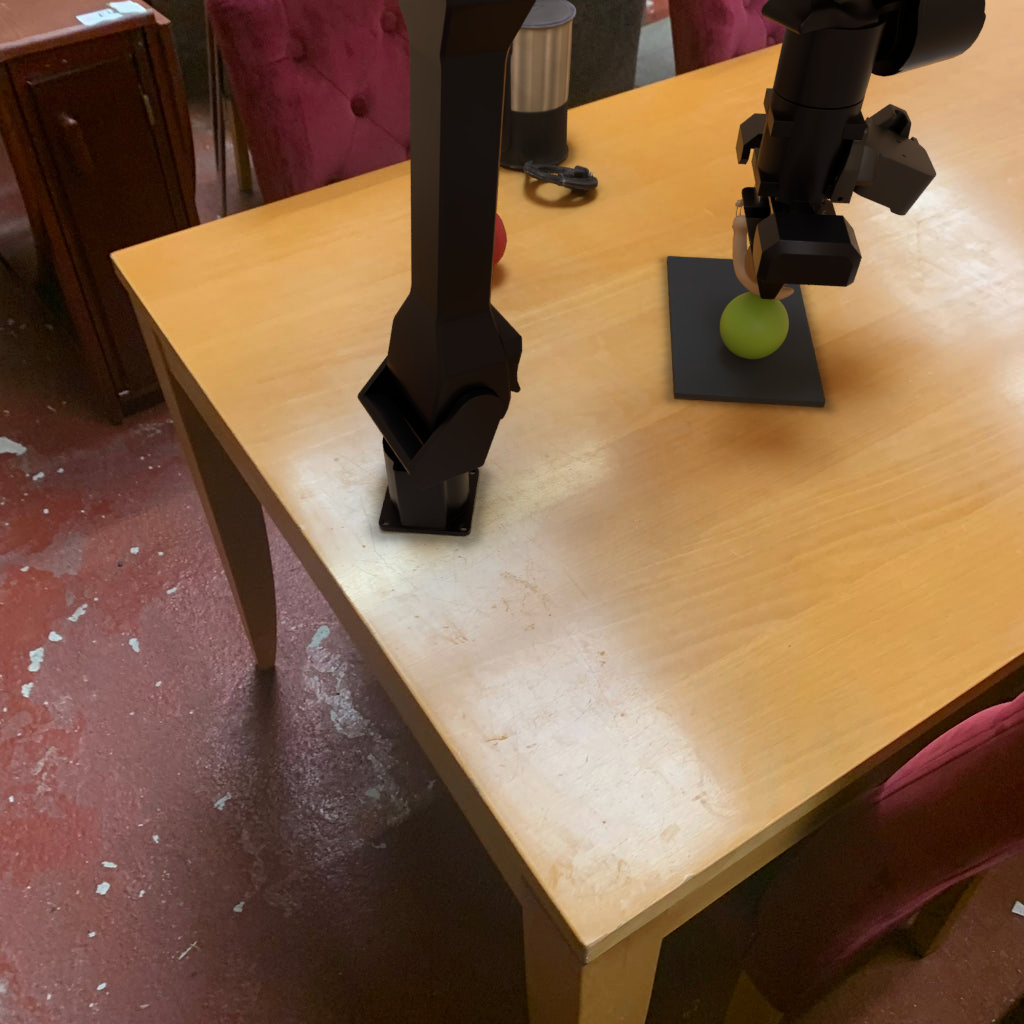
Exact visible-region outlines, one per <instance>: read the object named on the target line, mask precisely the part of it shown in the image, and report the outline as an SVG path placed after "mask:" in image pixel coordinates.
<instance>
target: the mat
mask: <svg viewBox="0 0 1024 1024" xmlns="http://www.w3.org/2000/svg"><path fill="white" fill-rule="evenodd" d="M666 268H667V269H666V270H667V290H668V304H669V305H668V306H669V309H668V310H669V324H670V326H669V327H670V344H671V363H672V364H671V365H672V384H673V398H674V399H680V400H681V399H683V400H698V401H699V400H701V401H717V402H733V403H749V404H765V405H766V404H768V405H783V406H798V407H799V406H800V407H815V408H816V407H817V408H824V407H825V404H826V403H827V402H826V401H827V400H826V397H825V392H824V387H823V384H822V379H821V378H822V377H821V374H820V369H819V365H818V360H817V356H816V351H815V348H814V342H813V338H812V333H811V330H810V325H809V320H808V315H807V311H806V307H805V306H806V305H805V302H804V298H803V293H802V288H801V285H798V284H787V285H785V286H784V287H788V288H792V289H793V290H794V292H793V293H792V294H791V295H790V296H788V297H786V298H784V299H781V300H779V301H780V302H781V303H782V304H783V306H784V307H785V309H786V311H787V314H788V319H789V328H788V333H787V336H786V338H785V340H784V342H783V343H782V345H781V346H780V347H779V348H778V349H777V350H776V351H775V352H773V353H772V354H770V355H768V356H766V357H763V358H760V359H745V358H742V357H739V356H737V355H735V354H734V353H732V352H731V351H730V350H729V349H728V348H727V347H726V346H725V344H724V342H723V340H722V338H721V334H720V320H721V316H722V314H723V311H724V310H725V308H726V307H727V305H728V304H729V303H730V302H731V301H732V300H733V299H734V298H736V297H737V296H739V295H741V294H744V293H747V292H750V291H749V290H748V289H747V288H746V287H745V286H744V285H743V284H742V283H741V282H740V281H739V280H738V278H737V276H736V273H735V270H734V265H733V258H718V257H716V258H715V257H701V256H700V257H697V256H678V255H667V259H666Z"/></svg>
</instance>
